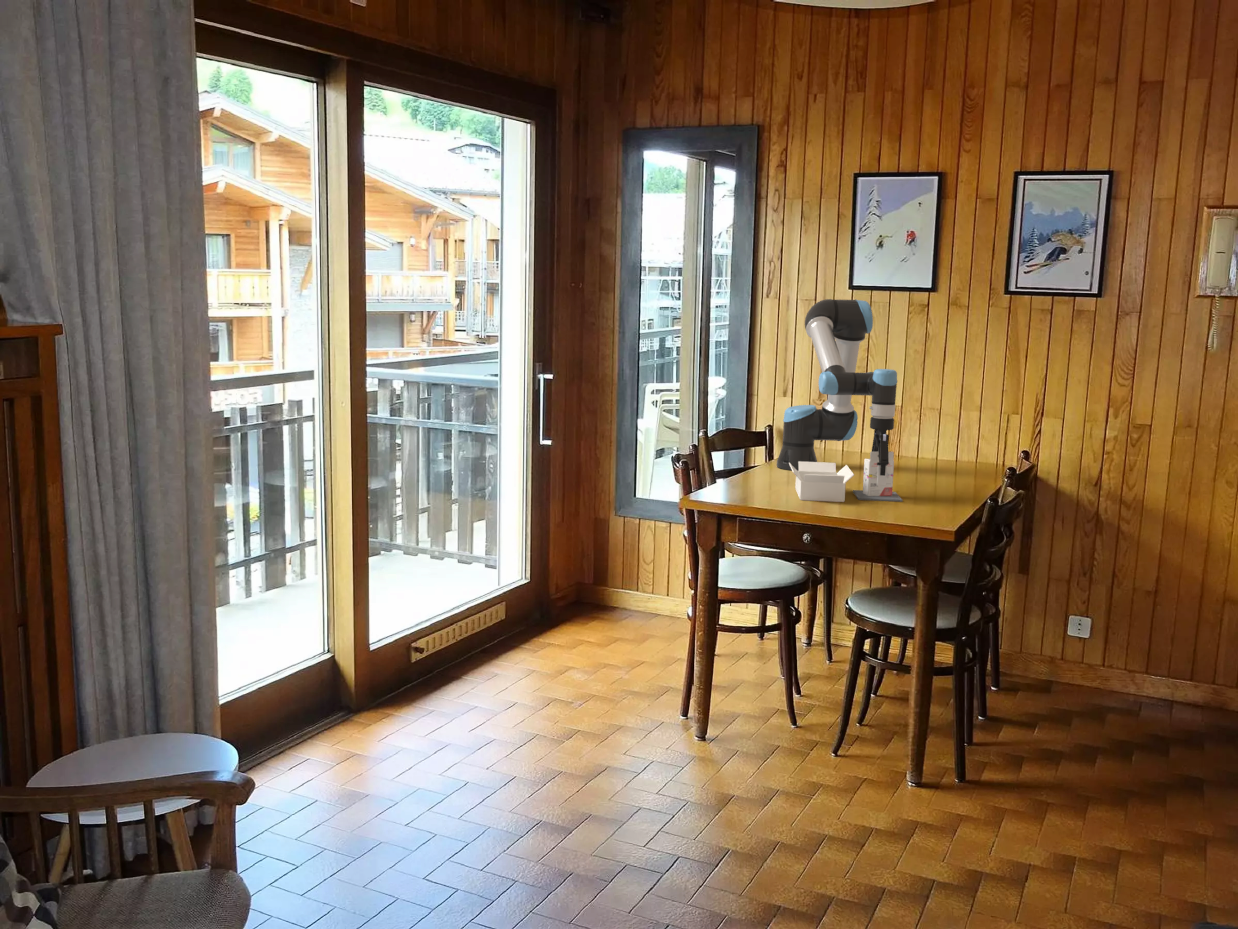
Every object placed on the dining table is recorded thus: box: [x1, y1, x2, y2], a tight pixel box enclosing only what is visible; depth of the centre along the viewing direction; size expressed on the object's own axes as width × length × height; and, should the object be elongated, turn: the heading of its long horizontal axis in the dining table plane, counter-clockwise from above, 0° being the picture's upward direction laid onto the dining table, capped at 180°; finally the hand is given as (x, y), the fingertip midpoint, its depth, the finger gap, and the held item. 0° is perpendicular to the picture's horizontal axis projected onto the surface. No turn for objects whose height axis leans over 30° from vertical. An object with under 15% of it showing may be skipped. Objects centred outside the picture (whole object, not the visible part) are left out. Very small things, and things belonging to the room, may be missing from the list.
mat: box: [852, 489, 904, 503], centre depth 367 cm, size 14×14×1 cm
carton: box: [789, 461, 855, 503], centre depth 366 cm, size 25×19×9 cm
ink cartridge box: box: [862, 450, 895, 496], centre depth 366 cm, size 9×5×15 cm, turn 99°
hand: (878, 481), depth 366 cm, fingers open, 13 cm apart
